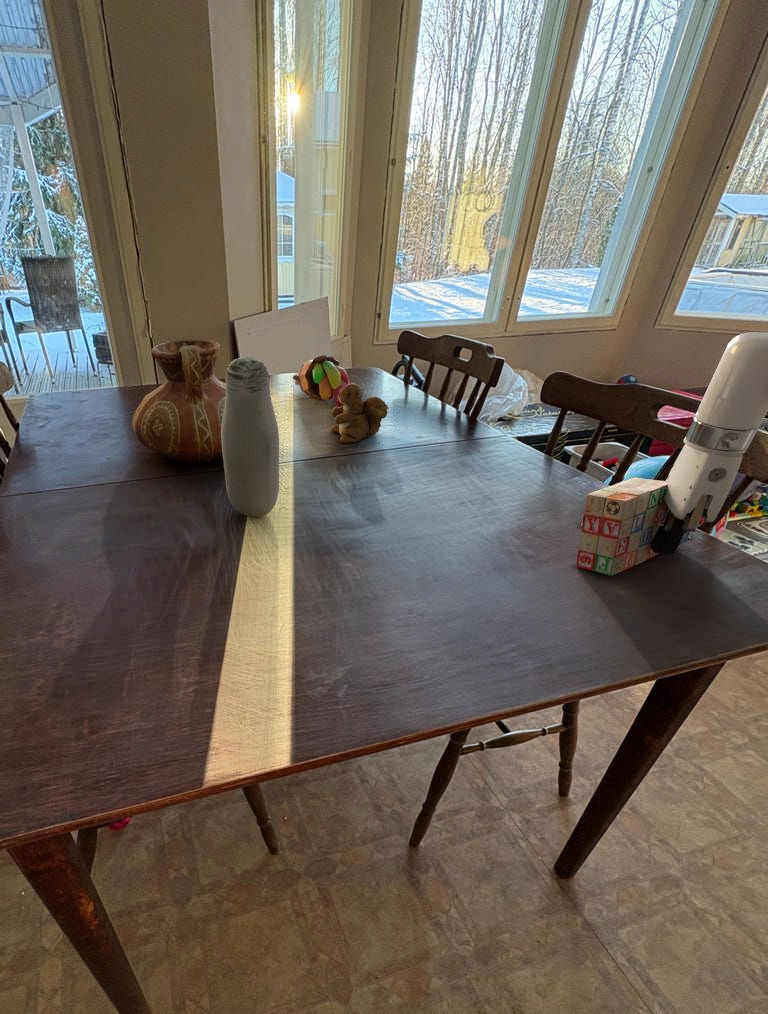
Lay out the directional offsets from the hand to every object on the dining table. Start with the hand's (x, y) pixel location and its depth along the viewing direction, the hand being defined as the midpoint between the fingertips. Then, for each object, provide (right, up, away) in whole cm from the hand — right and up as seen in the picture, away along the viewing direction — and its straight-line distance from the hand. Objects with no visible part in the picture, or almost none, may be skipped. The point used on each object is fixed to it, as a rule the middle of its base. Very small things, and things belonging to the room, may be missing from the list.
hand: (661, 550), depth 85 cm
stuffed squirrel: (-42, +40, +55) cm, 80 cm away
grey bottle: (-67, +11, +21) cm, 71 cm away
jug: (-83, +34, +50) cm, 103 cm away
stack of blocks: (-2, 0, +5) cm, 5 cm away
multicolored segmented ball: (-50, +64, +85) cm, 117 cm away
